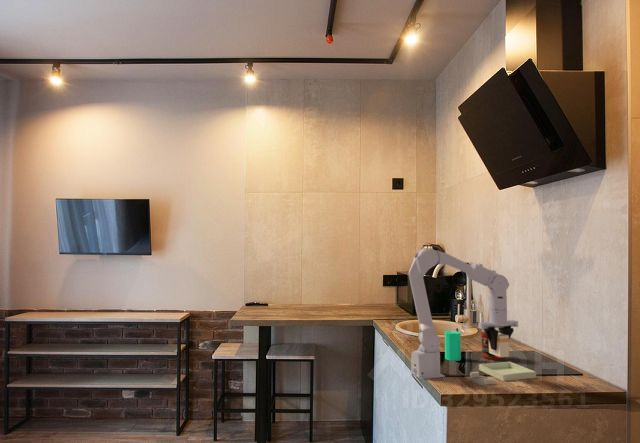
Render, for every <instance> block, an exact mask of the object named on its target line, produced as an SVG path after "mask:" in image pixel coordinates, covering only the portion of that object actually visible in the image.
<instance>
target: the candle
mask: <svg viewBox="0 0 640 443" xmlns="http://www.w3.org/2000/svg"><path fill="white" fill-rule="evenodd" d="M461 336H462V335H461V332H459V331H456V330H455V331H454V328H452V331H451V330H445V332H444V359H445V360H447V361H452V362H457V361H461V360H462V342H461V340H462V337H461Z"/></svg>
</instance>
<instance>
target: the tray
mask: <svg viewBox="0 0 640 443" xmlns="http://www.w3.org/2000/svg"><path fill="white" fill-rule="evenodd" d="M478 371H481V372H483V373H484V374H487V375H489V376H492V377H494V378H496V379H498V380H500V381H502V382H507V381H508V382H509V381H517V380H525V379H527V380H528V379H534V378H535V379H537V372H536V371H535V370H533V369H530V368H527V367H525V366H522V365H520V364H516V363H514V362H512V361H503V362H501V361H500V362H491V363H481V364H478Z"/></svg>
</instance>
